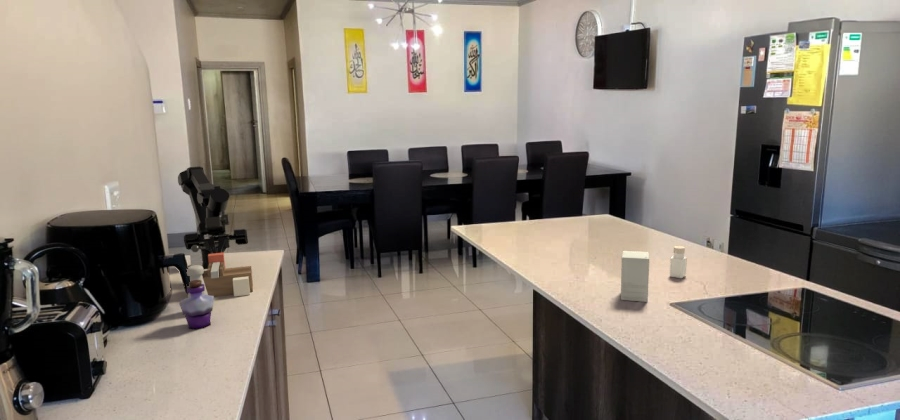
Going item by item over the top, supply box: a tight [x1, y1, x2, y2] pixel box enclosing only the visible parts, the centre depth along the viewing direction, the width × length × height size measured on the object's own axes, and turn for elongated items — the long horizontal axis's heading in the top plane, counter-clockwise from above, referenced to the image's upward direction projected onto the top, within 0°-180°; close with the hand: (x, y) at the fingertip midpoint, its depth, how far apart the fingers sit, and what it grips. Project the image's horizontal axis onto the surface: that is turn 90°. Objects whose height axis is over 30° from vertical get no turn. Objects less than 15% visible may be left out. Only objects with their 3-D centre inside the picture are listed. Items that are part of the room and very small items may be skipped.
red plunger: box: [208, 252, 226, 278], centre depth 175 cm, size 13×4×6 cm, turn 18°
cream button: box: [233, 276, 251, 297], centre depth 173 cm, size 2×4×5 cm, turn 108°
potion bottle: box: [179, 280, 215, 331], centre depth 149 cm, size 9×9×12 cm
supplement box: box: [620, 250, 650, 303], centre depth 163 cm, size 7×7×13 cm
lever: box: [189, 245, 203, 277], centre depth 171 cm, size 2×3×10 cm
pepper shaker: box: [669, 245, 688, 279], centre depth 181 cm, size 4×4×10 cm
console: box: [203, 262, 254, 297], centre depth 176 cm, size 8×18×8 cm, turn 108°
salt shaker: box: [186, 265, 208, 298], centre depth 159 cm, size 6×6×13 cm
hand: (217, 261), depth 181 cm, fingers closed, pressing on red plunger
